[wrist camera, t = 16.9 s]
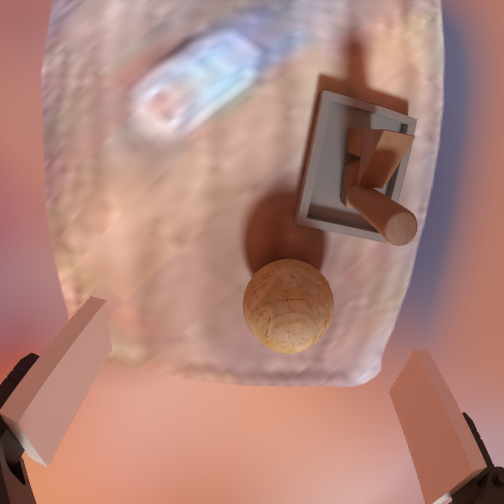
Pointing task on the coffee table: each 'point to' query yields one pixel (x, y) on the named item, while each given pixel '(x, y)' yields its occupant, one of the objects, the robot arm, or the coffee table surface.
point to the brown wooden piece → (377, 181)
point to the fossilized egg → (288, 305)
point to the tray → (335, 158)
